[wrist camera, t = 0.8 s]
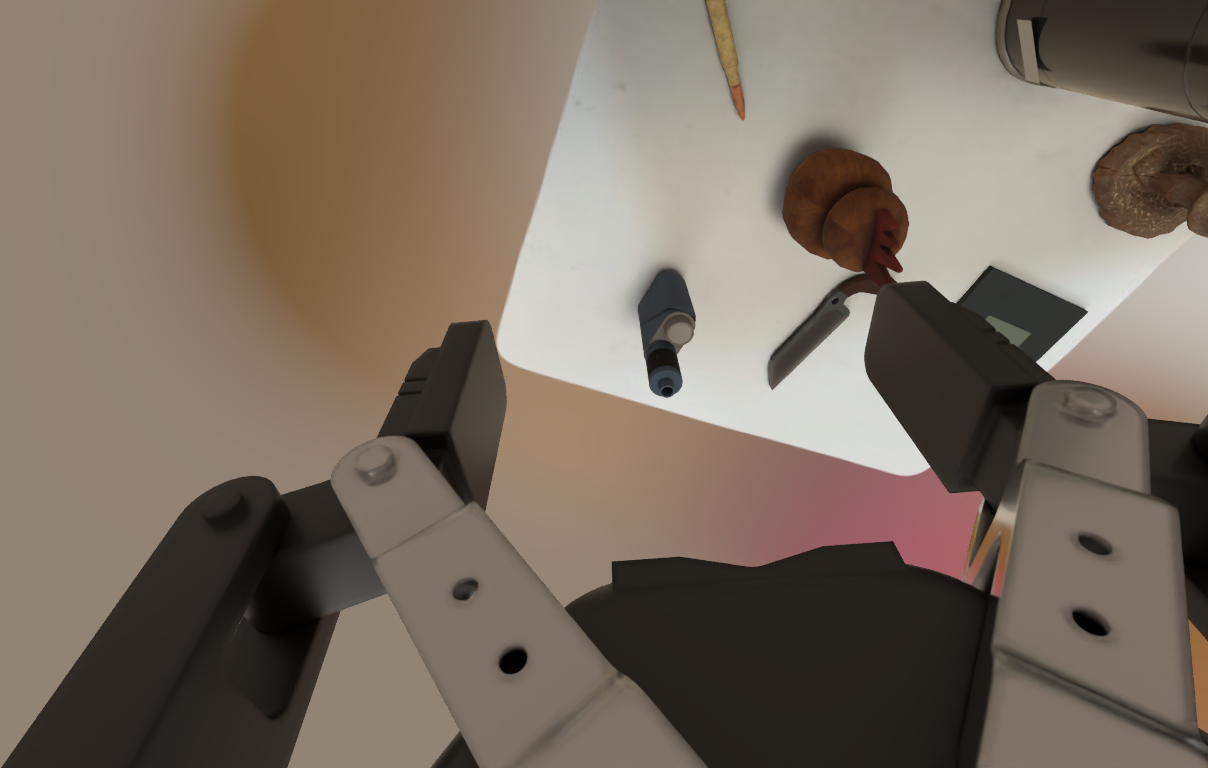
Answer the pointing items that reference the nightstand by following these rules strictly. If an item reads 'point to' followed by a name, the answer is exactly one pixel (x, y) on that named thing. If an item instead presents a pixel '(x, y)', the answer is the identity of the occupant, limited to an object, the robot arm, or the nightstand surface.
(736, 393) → the nightstand surface
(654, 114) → the nightstand surface
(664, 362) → the vaping device
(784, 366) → the knife
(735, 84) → the bullet
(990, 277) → the mat
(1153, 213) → the figurine
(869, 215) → the wooden figurine
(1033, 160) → the nightstand surface
